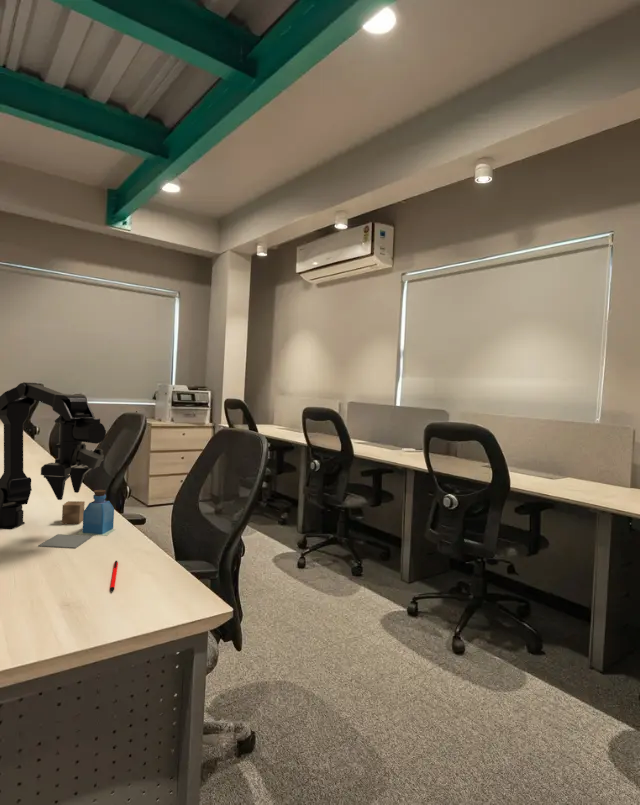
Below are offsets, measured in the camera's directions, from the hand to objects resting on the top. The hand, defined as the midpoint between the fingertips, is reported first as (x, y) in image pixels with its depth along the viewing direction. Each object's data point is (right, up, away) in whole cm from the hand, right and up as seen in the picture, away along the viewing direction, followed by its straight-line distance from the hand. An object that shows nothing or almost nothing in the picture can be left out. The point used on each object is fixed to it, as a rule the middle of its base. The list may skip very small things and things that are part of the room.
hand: (68, 496), depth 136 cm
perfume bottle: (+3, -13, +11) cm, 17 cm away
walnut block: (-8, -12, +18) cm, 23 cm away
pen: (+22, -15, -21) cm, 34 cm away
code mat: (+3, -13, +11) cm, 17 cm away
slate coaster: (-1, -13, 0) cm, 13 cm away
